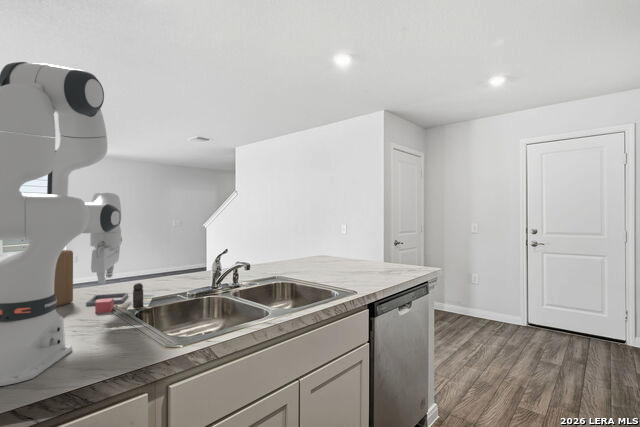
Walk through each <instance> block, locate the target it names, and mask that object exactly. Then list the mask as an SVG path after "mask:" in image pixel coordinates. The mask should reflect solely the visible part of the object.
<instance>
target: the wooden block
mask: <svg viewBox="0 0 640 427" xmlns="http://www.w3.org/2000/svg"><path fill="white" fill-rule="evenodd" d="M54 293H55V294H56V298H57V307H61V306H64V305H68V304H71V303H72V302H73V301H74V251H73V250H71V249H63V250H62V252H61V253H60V255H59V258H58V260H57V263H56V269H55V279H54ZM57 307H56V308H57Z"/></svg>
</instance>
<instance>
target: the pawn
mask: <svg viewBox="0 0 640 427" xmlns="http://www.w3.org/2000/svg"><path fill="white" fill-rule="evenodd" d="M143 288H144V286H143V284H142V283H140V282H137V283H135V284H134V285H133V289H132V301H133V308H139V309H142V308H141V307H143V295H144V289H143Z"/></svg>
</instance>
